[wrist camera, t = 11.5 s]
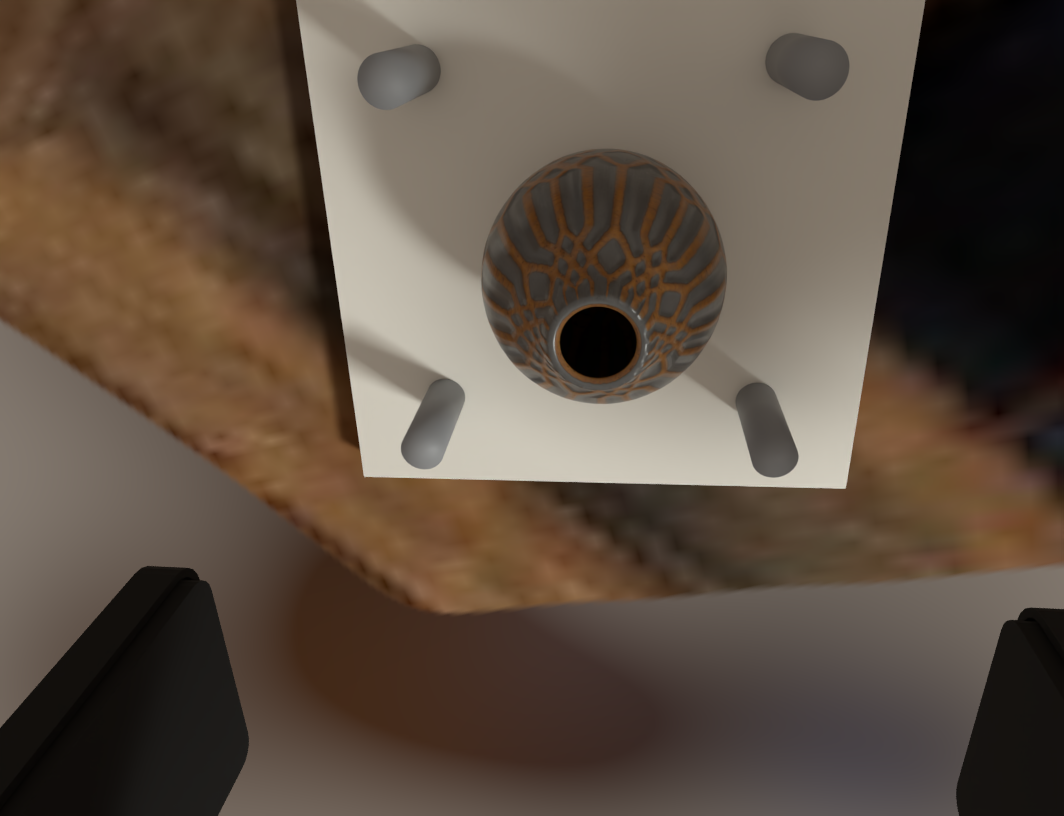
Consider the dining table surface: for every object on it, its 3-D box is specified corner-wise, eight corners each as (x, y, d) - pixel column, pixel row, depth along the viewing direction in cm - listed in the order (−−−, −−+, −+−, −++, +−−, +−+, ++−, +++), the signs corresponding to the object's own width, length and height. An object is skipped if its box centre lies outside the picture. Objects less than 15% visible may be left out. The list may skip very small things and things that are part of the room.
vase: (739, 302, 27) (786, 425, 19) (546, 367, 29) (518, 505, 21) (673, 96, 25) (697, 143, 17) (465, 181, 26) (399, 260, 18)
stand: (921, -82, 23) (1001, -103, 18) (835, 467, 31) (875, 555, 26) (305, -56, 25) (228, -68, 20) (374, 457, 33) (331, 537, 28)
